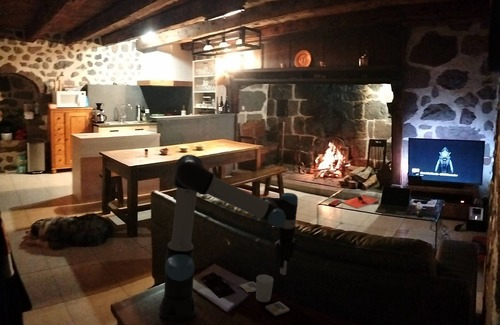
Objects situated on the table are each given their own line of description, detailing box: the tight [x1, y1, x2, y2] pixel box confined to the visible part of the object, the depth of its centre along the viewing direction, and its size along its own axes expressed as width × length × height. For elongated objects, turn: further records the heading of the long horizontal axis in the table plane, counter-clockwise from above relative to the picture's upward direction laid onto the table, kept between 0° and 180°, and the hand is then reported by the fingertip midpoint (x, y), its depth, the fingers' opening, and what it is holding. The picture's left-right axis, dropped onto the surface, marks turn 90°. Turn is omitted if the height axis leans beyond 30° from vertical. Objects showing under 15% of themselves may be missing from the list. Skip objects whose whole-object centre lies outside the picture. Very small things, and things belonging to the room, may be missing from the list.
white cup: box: [255, 274, 274, 303], centre depth 185 cm, size 8×8×10 cm
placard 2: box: [265, 301, 291, 316], centre depth 178 cm, size 7×8×1 cm
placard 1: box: [238, 281, 256, 294], centre depth 194 cm, size 7×8×1 cm
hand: (282, 273), depth 190 cm, fingers closed
